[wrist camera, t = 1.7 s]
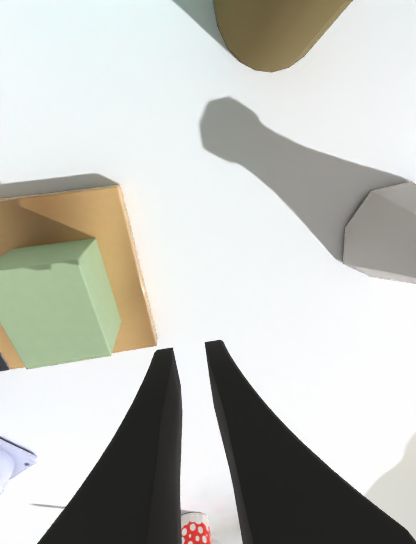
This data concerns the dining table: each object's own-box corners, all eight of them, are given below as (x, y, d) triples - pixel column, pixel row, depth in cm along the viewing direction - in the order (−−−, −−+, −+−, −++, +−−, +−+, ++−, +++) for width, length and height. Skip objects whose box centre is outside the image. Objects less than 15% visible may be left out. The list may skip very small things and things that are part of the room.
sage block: (96, 237, 16) (77, 259, 13) (121, 321, 19) (111, 356, 16) (12, 248, 16) (-29, 273, 12) (51, 332, 18) (26, 370, 15)
